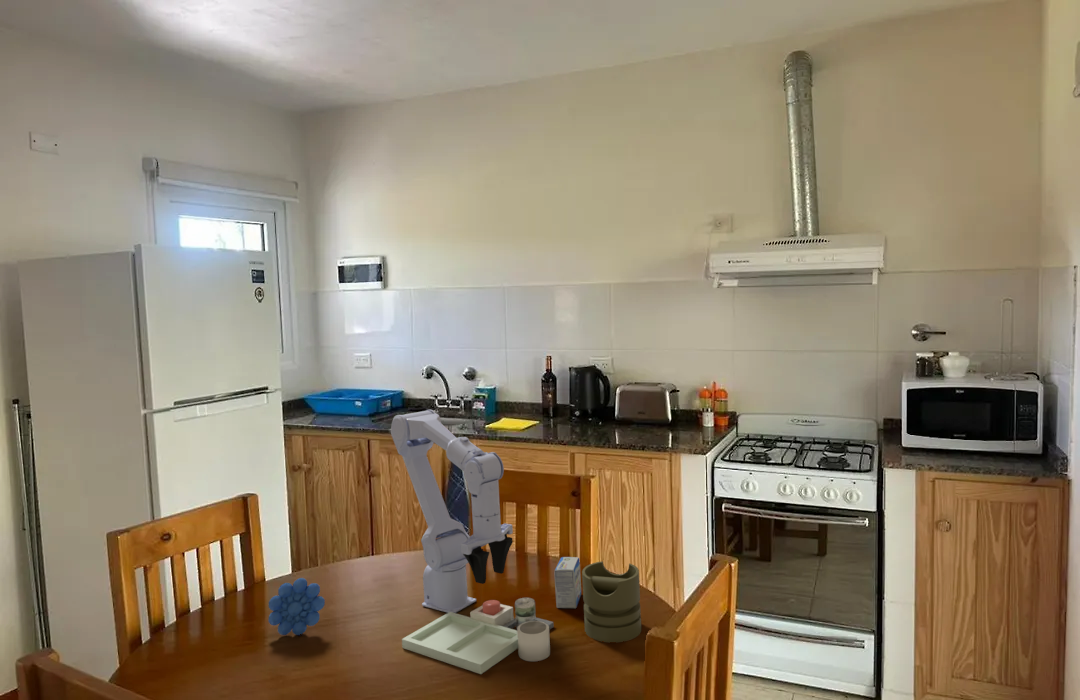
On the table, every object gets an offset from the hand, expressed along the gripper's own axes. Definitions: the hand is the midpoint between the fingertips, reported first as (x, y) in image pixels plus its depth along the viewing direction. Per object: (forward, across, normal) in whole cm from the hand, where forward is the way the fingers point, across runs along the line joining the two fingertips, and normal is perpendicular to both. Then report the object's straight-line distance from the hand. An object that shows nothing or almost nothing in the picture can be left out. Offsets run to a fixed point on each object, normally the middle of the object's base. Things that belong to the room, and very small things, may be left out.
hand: (489, 577), depth 152 cm
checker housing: (+10, 0, 0) cm, 10 cm away
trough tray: (+10, -10, -1) cm, 14 cm away
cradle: (+10, +1, -8) cm, 13 cm away
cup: (+10, -6, -15) cm, 19 cm away
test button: (+10, 0, 0) cm, 10 cm away
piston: (+10, +10, -23) cm, 27 cm away
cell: (+10, +1, -8) cm, 13 cm away
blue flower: (+10, -23, +33) cm, 41 cm away
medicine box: (+10, +17, -8) cm, 21 cm away
